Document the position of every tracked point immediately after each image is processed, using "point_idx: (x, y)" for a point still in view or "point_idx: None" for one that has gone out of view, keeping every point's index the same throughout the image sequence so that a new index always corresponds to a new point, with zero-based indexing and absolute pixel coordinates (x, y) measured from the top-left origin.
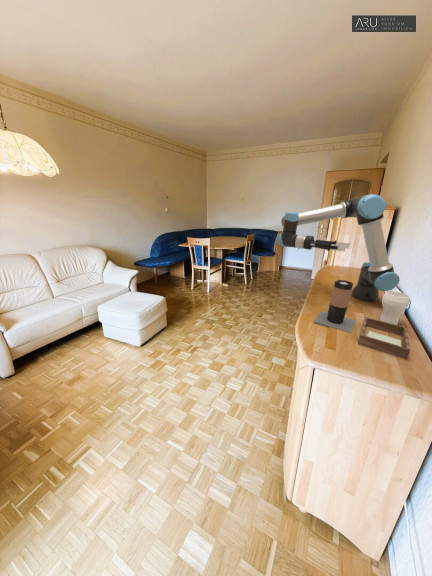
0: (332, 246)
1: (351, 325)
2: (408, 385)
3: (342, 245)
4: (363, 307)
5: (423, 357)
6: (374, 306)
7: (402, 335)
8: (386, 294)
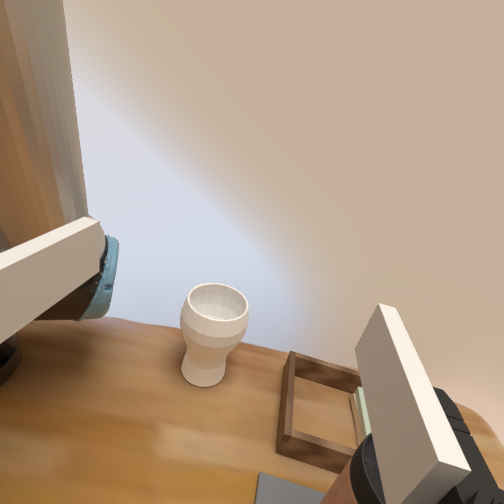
0: (479, 466)
1: (320, 498)
2: (485, 431)
3: (401, 329)
4: (94, 406)
5: (355, 369)
6: (76, 365)
7: (303, 370)
8: (225, 325)
